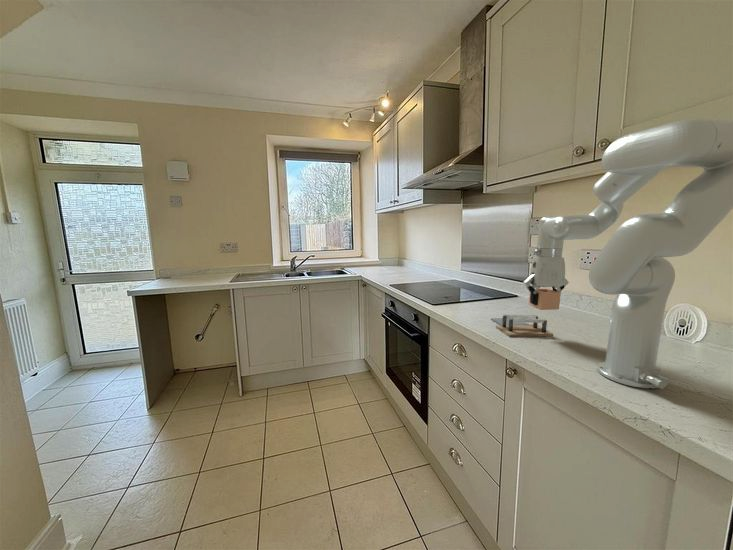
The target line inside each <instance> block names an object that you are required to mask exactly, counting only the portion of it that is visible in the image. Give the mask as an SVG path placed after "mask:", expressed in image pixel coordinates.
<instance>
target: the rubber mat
mask: <svg viewBox="0 0 733 550" xmlns="http://www.w3.org/2000/svg"><path fill="white" fill-rule="evenodd" d="M509 319H510V318H507V321H506V325H509ZM490 320H491V321H492V322H493V323H495V322H496V324H498V326H502V320H503V317H498V318H497V317H495V318H493V317H491V318H490ZM513 325H530V324H529V323H528V322H513Z"/></svg>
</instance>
